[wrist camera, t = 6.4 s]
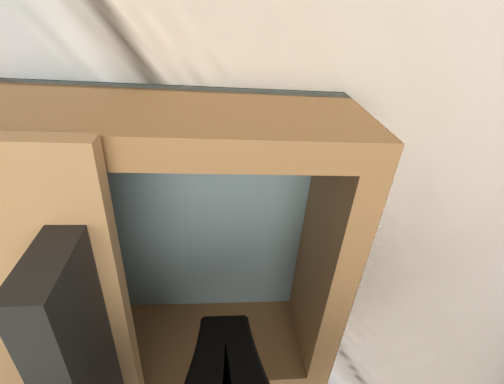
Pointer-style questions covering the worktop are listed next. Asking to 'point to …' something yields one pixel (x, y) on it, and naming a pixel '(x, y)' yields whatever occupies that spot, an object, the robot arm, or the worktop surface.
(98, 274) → the lid
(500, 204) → the worktop surface
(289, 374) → the box
